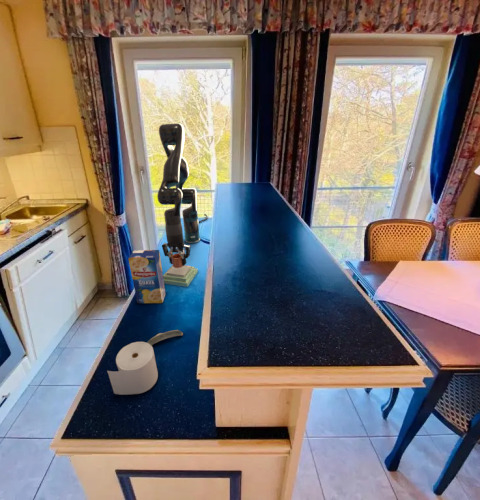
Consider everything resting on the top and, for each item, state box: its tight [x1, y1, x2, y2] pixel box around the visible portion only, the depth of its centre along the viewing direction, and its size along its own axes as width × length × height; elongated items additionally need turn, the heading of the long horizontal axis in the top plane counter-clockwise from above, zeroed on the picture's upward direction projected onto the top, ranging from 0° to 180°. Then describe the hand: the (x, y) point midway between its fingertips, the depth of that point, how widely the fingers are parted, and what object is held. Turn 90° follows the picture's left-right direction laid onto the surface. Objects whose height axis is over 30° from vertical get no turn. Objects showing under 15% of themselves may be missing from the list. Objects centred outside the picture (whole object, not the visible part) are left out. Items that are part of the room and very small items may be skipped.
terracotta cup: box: [171, 253, 183, 268], centre depth 134 cm, size 6×6×5 cm
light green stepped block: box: [163, 264, 199, 288], centre depth 137 cm, size 14×14×4 cm
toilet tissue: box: [106, 341, 159, 396], centre depth 83 cm, size 11×12×10 cm
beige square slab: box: [165, 264, 191, 277], centre depth 136 cm, size 9×9×2 cm
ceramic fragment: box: [146, 329, 184, 346], centre depth 100 cm, size 14×5×4 cm, turn 113°
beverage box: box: [127, 249, 167, 304], centre depth 118 cm, size 7×11×22 cm, turn 88°
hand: (178, 264), depth 134 cm, fingers closed on terracotta cup, 5 cm apart
